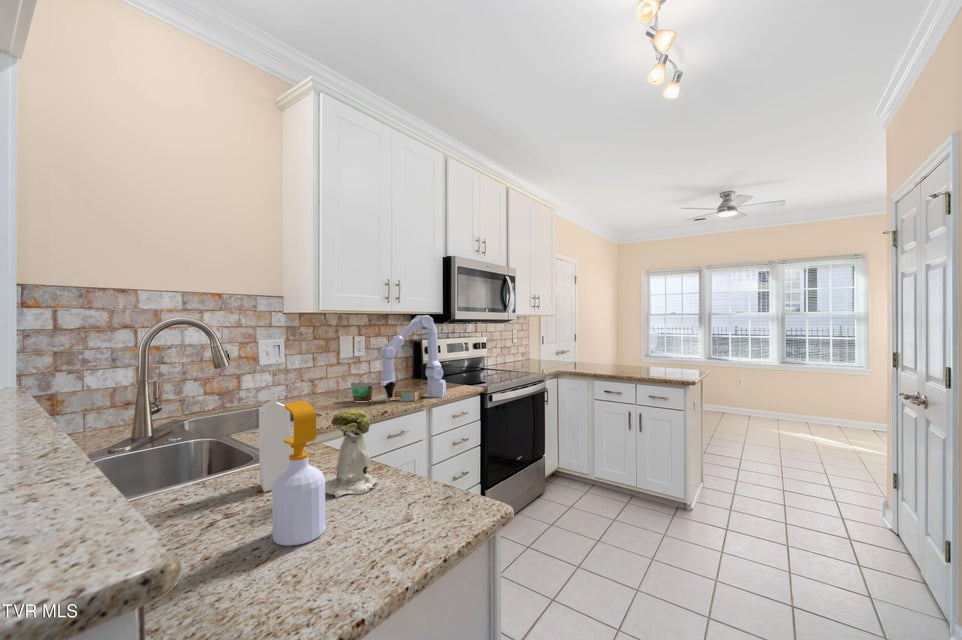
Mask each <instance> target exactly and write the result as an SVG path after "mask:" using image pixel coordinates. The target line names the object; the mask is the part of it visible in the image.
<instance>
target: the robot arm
mask: <svg viewBox="0 0 962 640" xmlns="http://www.w3.org/2000/svg"><path fill="white" fill-rule="evenodd" d="M417 329H422V330H423V331H424V332H425V333H426V339H427V342H426V343H427V359H428V361H427V364H426V368H425V372H424V373H425V376H426V378H427V394H426V395H425V396H424V397H425V398H444V397H445V396H447V385H446V384H447V382H446V379H442V378H443V376H444V371H443V368H442V364H441V363H440V361H439V345H438V329H437V326H436V324H435V322H434V318H433V317H431V316H430V315H426V314H423V315H416V316H415V317H414V318H413V319H411V321H410V322H409V324H407V326H406V327H405V328H404V329H403V330H402V331H401V332H400V333H399V334H398V335H394V336H392V339H391V340H390V341H389V342H388V343H386V344H385V346H383V347H382V348H381V349H380V351H379V355H380V357H381V365H382V379H380V381H381V382H380V386H381V387H383V388H384V390H385V392H386V393H387V394H388V398H392V397H393V390H395V387H396V384H397V383H396V382H397V381H398V380H397V379H398V378H397V376H396V375H395V361H394V360H395V359H394V357H395V356H396V352H397V351H399V349H400V348H401V347H402V346H403V345H404V344H405V340H406V339H407V338H408V336H410V335H411V334H412V333H413V332H415V330H417Z"/></svg>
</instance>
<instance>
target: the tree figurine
mask: <svg viewBox="0 0 962 640" xmlns="http://www.w3.org/2000/svg"><path fill="white" fill-rule="evenodd" d="M331 425H332V426H333V427H334V428H336V430H339V431H341V433H342V436H343V441H342V442H341V445H340V448H339V453H338V459H337V465H336V471H337V472H336V474H335V475H333V476H331V478H325V494H330V495H334V496H335V499H337V498H339V497H341V496H344V495H345V494H352V495H364V494H365V493H368V492H369V491H370V489H372V488H373V486H374V488H376V485H375V484H378V483H379V478H377V477H378V476H377V474H371V475H370V474H368V473H367V469H368V466H369V465H370V463H371V461H372V460H371V458H370V453H369V452H370V449H371V448H368V446H367V443H366V441H365V438H364V434H367V433H368V432H369V430H370V429H369V427H371V419H370V418H369V416H368V415H367V413H366V412H364V411H363V410H359V409H345V410H342V411H340V412H337V413H335V414H334V415H333V418H332V419H331ZM363 493H364V494H363Z"/></svg>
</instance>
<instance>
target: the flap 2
mask: <svg viewBox="0 0 962 640" xmlns="http://www.w3.org/2000/svg"><path fill="white" fill-rule="evenodd" d="M401 400H413V393H401Z"/></svg>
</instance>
